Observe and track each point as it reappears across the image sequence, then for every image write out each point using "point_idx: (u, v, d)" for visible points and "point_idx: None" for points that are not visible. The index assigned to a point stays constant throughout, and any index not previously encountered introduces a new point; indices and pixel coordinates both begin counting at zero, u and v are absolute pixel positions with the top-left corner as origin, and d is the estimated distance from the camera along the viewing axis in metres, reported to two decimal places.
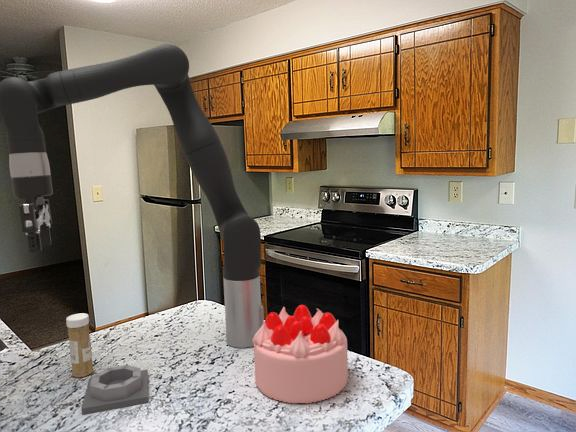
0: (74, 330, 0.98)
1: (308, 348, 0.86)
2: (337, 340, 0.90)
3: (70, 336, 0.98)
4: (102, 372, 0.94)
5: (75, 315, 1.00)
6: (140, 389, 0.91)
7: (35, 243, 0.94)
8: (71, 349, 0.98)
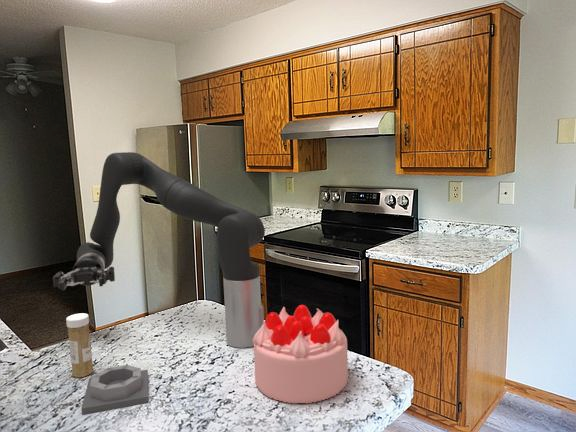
0: (74, 330, 0.98)
1: (308, 348, 0.86)
2: (337, 340, 0.90)
3: (70, 336, 0.98)
4: (102, 372, 0.94)
5: (75, 315, 1.00)
6: (140, 389, 0.91)
7: None
8: (71, 349, 0.98)
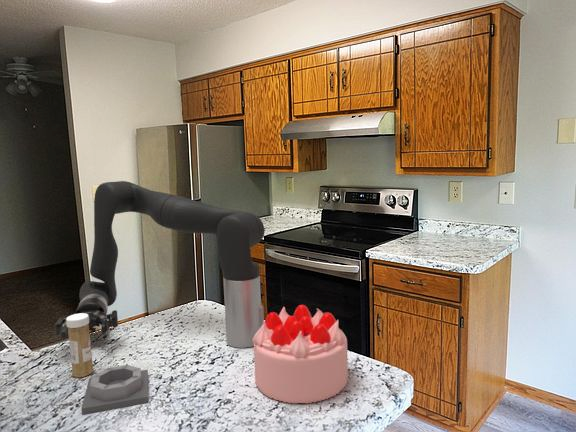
0: (74, 330, 0.98)
1: (308, 348, 0.86)
2: (337, 340, 0.90)
3: (70, 336, 0.98)
4: (102, 372, 0.94)
5: (75, 315, 1.00)
6: (140, 389, 0.91)
7: (60, 331, 1.07)
8: (71, 349, 0.98)
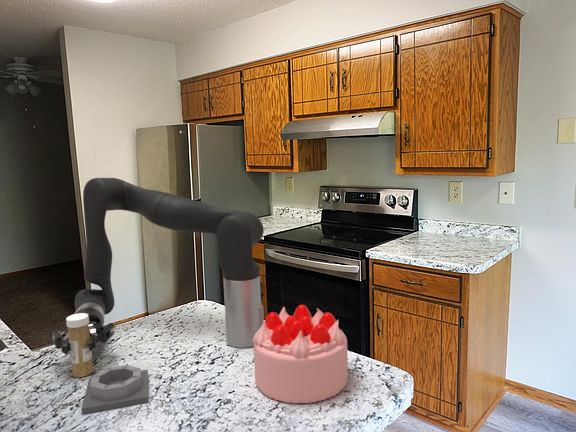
0: (74, 330, 0.98)
1: (308, 348, 0.86)
2: (337, 340, 0.90)
3: (70, 336, 0.98)
4: (102, 372, 0.94)
5: (75, 315, 1.00)
6: (140, 389, 0.91)
7: (61, 345, 0.98)
8: (71, 349, 0.98)
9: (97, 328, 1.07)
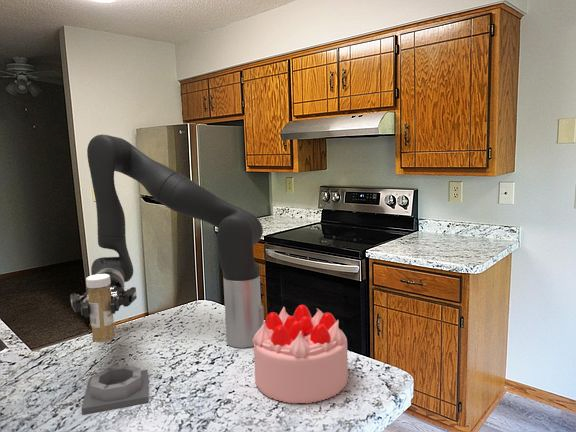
0: (95, 291, 0.90)
1: (308, 348, 0.86)
2: (337, 340, 0.90)
3: (90, 297, 0.90)
4: (102, 372, 0.94)
5: (95, 275, 0.92)
6: (140, 389, 0.91)
7: (81, 307, 0.90)
8: (91, 312, 0.90)
9: (118, 292, 0.99)
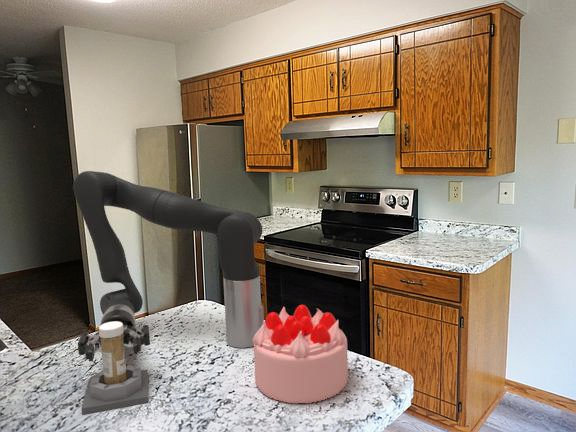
0: (108, 340, 0.89)
1: (308, 348, 0.86)
2: (337, 340, 0.90)
3: (103, 347, 0.89)
4: (102, 372, 0.94)
5: (108, 324, 0.91)
6: (140, 389, 0.91)
7: (85, 351, 0.89)
8: (104, 361, 0.89)
9: None
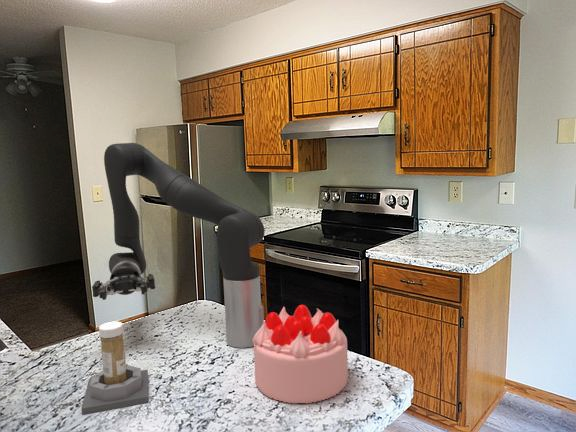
0: (108, 340, 0.89)
1: (308, 348, 0.86)
2: (337, 340, 0.90)
3: (103, 347, 0.89)
4: (102, 372, 0.94)
5: (108, 324, 0.91)
6: (140, 389, 0.91)
7: (99, 292, 1.04)
8: (104, 361, 0.89)
9: None
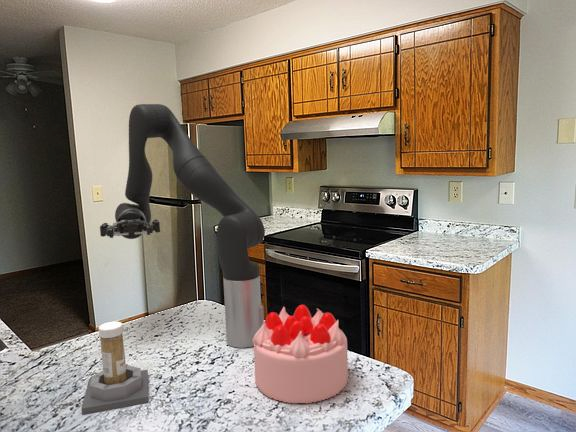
0: (108, 340, 0.89)
1: (308, 348, 0.86)
2: (337, 340, 0.90)
3: (103, 347, 0.89)
4: (102, 372, 0.94)
5: (108, 324, 0.91)
6: (140, 389, 0.91)
7: (106, 231, 1.09)
8: (104, 361, 0.89)
9: None
